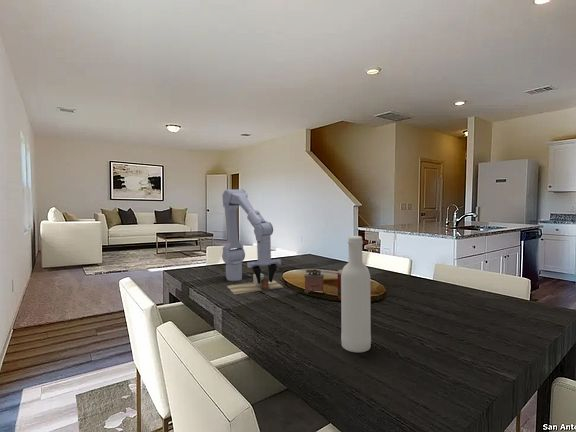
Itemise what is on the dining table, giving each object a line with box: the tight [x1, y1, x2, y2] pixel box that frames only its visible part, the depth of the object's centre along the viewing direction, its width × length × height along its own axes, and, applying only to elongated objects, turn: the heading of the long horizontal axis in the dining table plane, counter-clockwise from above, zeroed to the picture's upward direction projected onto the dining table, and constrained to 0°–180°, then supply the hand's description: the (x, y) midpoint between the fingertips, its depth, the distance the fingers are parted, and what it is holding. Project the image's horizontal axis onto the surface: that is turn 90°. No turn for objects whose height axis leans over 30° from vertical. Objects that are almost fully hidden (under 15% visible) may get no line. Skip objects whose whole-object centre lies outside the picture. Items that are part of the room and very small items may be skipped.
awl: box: [261, 274, 269, 289], centre depth 142 cm, size 3×3×6 cm
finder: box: [252, 273, 267, 286], centre depth 149 cm, size 6×4×4 cm, turn 23°
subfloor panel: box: [226, 279, 284, 295], centre depth 146 cm, size 14×22×1 cm, turn 113°
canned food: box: [336, 268, 343, 301], centre depth 130 cm, size 8×8×11 cm
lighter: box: [304, 268, 325, 294], centre depth 139 cm, size 8×3×10 cm, turn 84°
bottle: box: [340, 235, 372, 353], centre depth 89 cm, size 8×8×30 cm
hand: (264, 282), depth 142 cm, fingers open, 5 cm apart
